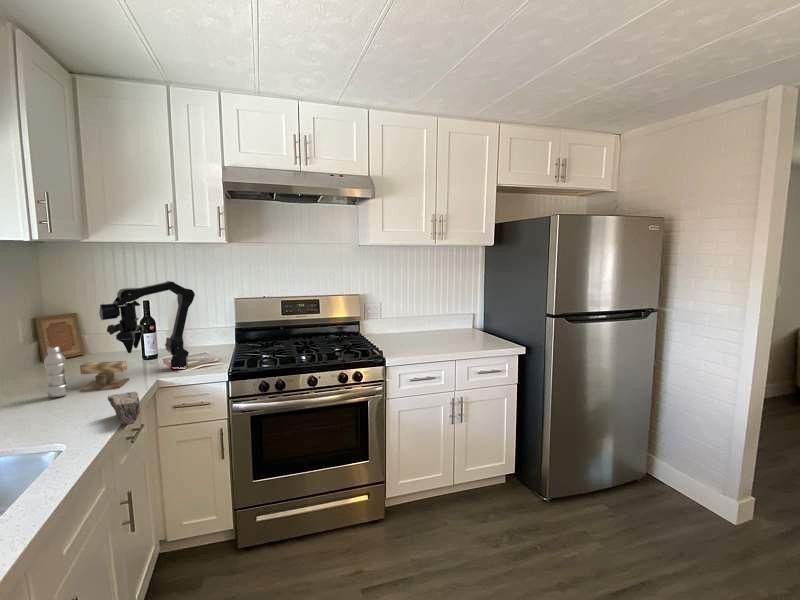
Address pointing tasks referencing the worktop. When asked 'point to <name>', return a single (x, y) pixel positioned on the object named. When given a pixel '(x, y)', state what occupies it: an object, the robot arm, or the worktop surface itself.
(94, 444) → the worktop surface
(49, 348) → the plastic bottle
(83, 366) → the oak bar
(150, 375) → the worktop surface
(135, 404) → the stone block
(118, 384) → the walnut board
